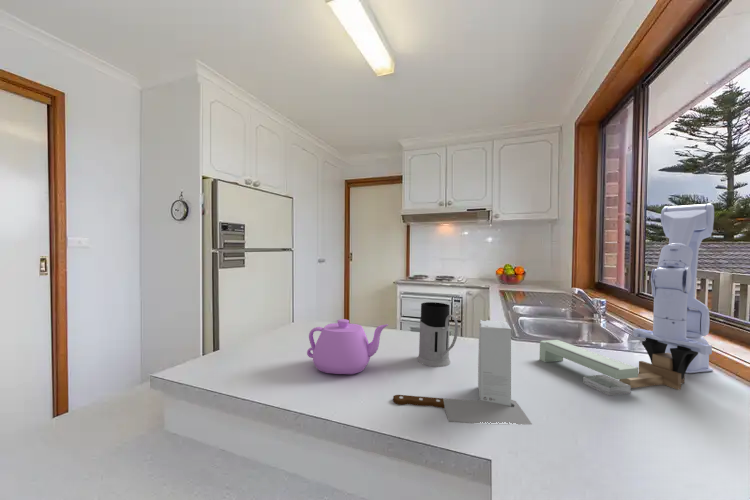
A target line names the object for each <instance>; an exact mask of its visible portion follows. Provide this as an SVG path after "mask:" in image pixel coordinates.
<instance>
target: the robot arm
mask: <svg viewBox="0 0 750 500" xmlns="http://www.w3.org/2000/svg"><path fill="white" fill-rule="evenodd" d="M660 222H661V226H662V229H663V233H664V235H665V237H666V238H668V244H666V245H664V246H662V248H661V251H660V254H659V258H658V263H657V267H656V268H653V269H652V270H651V273H650V274H651V275H650V285H651V295H652V298H653V313H652V314H653V321H652V324H653V325H652V330H649V329H642V328H633V329H632V330H633V331H632V333H633V335H632V336H633V337H635V338H642V339H645V340H643V341H641V345H642V346H643V348H644V349H645V351H646V352H647V355H648V357H649V360H650V362H651V363H650V364H652V355H653V354H657V353H670V354H671V355H672V359H673V371H675V372H678V373H681V379H683V378H684V375H685V374H694V373H695V374H696V373H705V372H712V371H714V369H713V368H711V367H710V365H709V364H710V363H709V362H710V355H712V354H713V345H711V344H709V342H708V340H707V339H706V338H705V337H706V336H708V335H709V332H710V322H711V321H710V309H709V307H708V306H707V305H706V304H705V303H703V302H701V301H700V300H698V299H697V298H696V288H697V275H698V264H699V263H698V261H699V251H700V246H701V244H702V242H703V240H705V239H707V238H710V237H711V236H712V233H713V232H714V222H715V207H714V205H713V204H712V203H710V202H709V203H701V204H688V205H687V204H685V205H675V206H667V205H665V206H664V207H662V209H661V212H660ZM685 376H686V375H685Z"/></svg>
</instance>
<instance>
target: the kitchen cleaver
mask: <svg viewBox="0 0 750 500" xmlns="http://www.w3.org/2000/svg"><path fill="white" fill-rule="evenodd" d="M392 402H393V403H394V404H395V405H399V406H403V405H413V406H419V407H428V406H429V407H435V408H440V409H444V412H445V414H446V418H447V420H448V423H455V424H456V423H458V424H474V423H480V422H481V423H482V422H483V423H485V422H486V423H487V422H488V423H490V422H491V423H496V422H497V423H498V422H499V423H502V422H503V423H504V422H506V423H508V424H507V425H510V424H509V422H510V423H512V424H513V423H516V424H518V425H521V424H522V425H528V426H529V425H530V426H531V425H533V423H532V422H531V420H530V419H529V418H528V416H527V415H526V413H525V411H524V410H523V409H522V408H521V406H520V405H519V403H518V402H517V401H516V400H514V399H511V407H509V406H507V405H503V404H498V403H493V402H488V401H483V400H480V399H459V398H458V399H456V398H447V397H446V398H442V397H431V396H430V397H429V396H419V395H417V396H416V395H408V394H407V395H404V394H394V395H393V397H392ZM488 423H487V424H486V425H492V424H491V423H490V424H488ZM499 423H498V424H497V425H500V424H499ZM522 425H521V426H522Z"/></svg>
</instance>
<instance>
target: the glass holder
mask: <svg viewBox="0 0 750 500" xmlns="http://www.w3.org/2000/svg"><path fill="white" fill-rule="evenodd" d="M450 310H451V309H450V304H448V303H444V302H435V301H434V302H433V301H432V302H431V301H429V302H422V303H421V304H420V319H419V320H420V321H419V343H418V344H419V345H418V355H417V362H418V363H420V364H422V365H423V366H428V367H433V368H436V367H437V368H442V367H447V366H449V365H450V364H451V360H450V351H451V350H452V349H453V347H454V346H455V343H456V341H457V338H458V335H459V333H458V331H459V323H458V319H457V317H456V316H455V315H453V314H450ZM451 318H452V320H454V321H453V322H454V333H453V334H454V336H453V339H452V342H451V344H450V332H451V331H450V330H451V324H450V319H451Z"/></svg>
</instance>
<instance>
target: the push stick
mask: <svg viewBox="0 0 750 500" xmlns="http://www.w3.org/2000/svg"><path fill="white" fill-rule="evenodd" d="M685 376H686V375H684V378H683V379H681V373H678V372H675V371H673V359H672V355H671V354H670V353H657V354H653V355H652V363H649V362H646V361H643V360H640V361H638V377H636V378H626V379H618V381H620V382H623V383H625V384H628V385H630V386H631V389H636V388H642V387H643V388H644V387H652V386H660V385H663V386H667V387H669V388H671V389H675V390H677V391H678V390H679V391H680V390H682V384H685Z"/></svg>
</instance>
